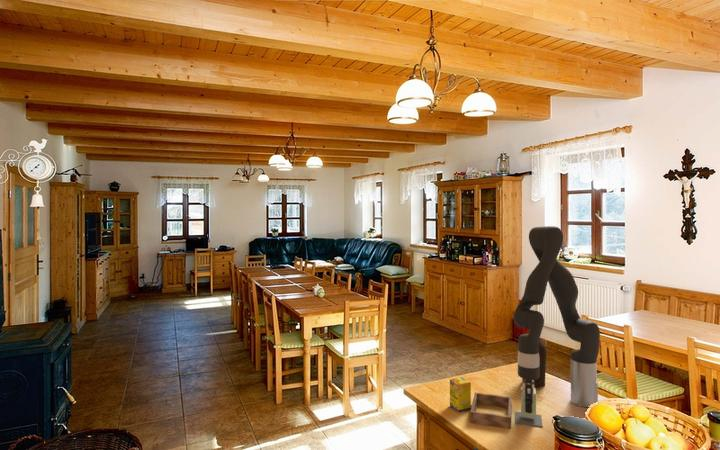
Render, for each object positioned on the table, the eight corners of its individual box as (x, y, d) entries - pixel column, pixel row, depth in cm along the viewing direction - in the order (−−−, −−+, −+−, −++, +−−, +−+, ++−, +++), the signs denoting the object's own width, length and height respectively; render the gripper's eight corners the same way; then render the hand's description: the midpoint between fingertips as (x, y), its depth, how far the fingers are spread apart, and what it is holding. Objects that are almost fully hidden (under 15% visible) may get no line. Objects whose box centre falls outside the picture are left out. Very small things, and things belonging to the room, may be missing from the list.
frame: (511, 407, 170) (511, 396, 170) (511, 428, 153) (511, 417, 153) (474, 402, 175) (474, 392, 175) (470, 422, 158) (470, 411, 158)
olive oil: (547, 390, 186) (547, 332, 185) (520, 386, 190) (520, 330, 189) (546, 381, 196) (546, 326, 195) (521, 378, 199) (521, 324, 199)
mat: (541, 416, 162) (541, 415, 162) (542, 427, 154) (542, 426, 154) (515, 412, 166) (515, 411, 166) (515, 423, 157) (515, 422, 157)
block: (535, 412, 161) (535, 388, 161) (535, 418, 157) (536, 393, 156) (521, 410, 163) (521, 386, 163) (521, 416, 158) (521, 391, 158)
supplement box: (449, 406, 172) (449, 378, 171) (462, 403, 174) (461, 376, 174) (458, 412, 166) (458, 384, 166) (471, 409, 169) (471, 381, 168)
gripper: (540, 371, 151) (540, 419, 152) (538, 358, 165) (538, 402, 165) (517, 369, 154) (517, 416, 154) (517, 356, 167) (517, 399, 168)
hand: (528, 409), depth 160 cm, fingers closed on block, 5 cm apart
